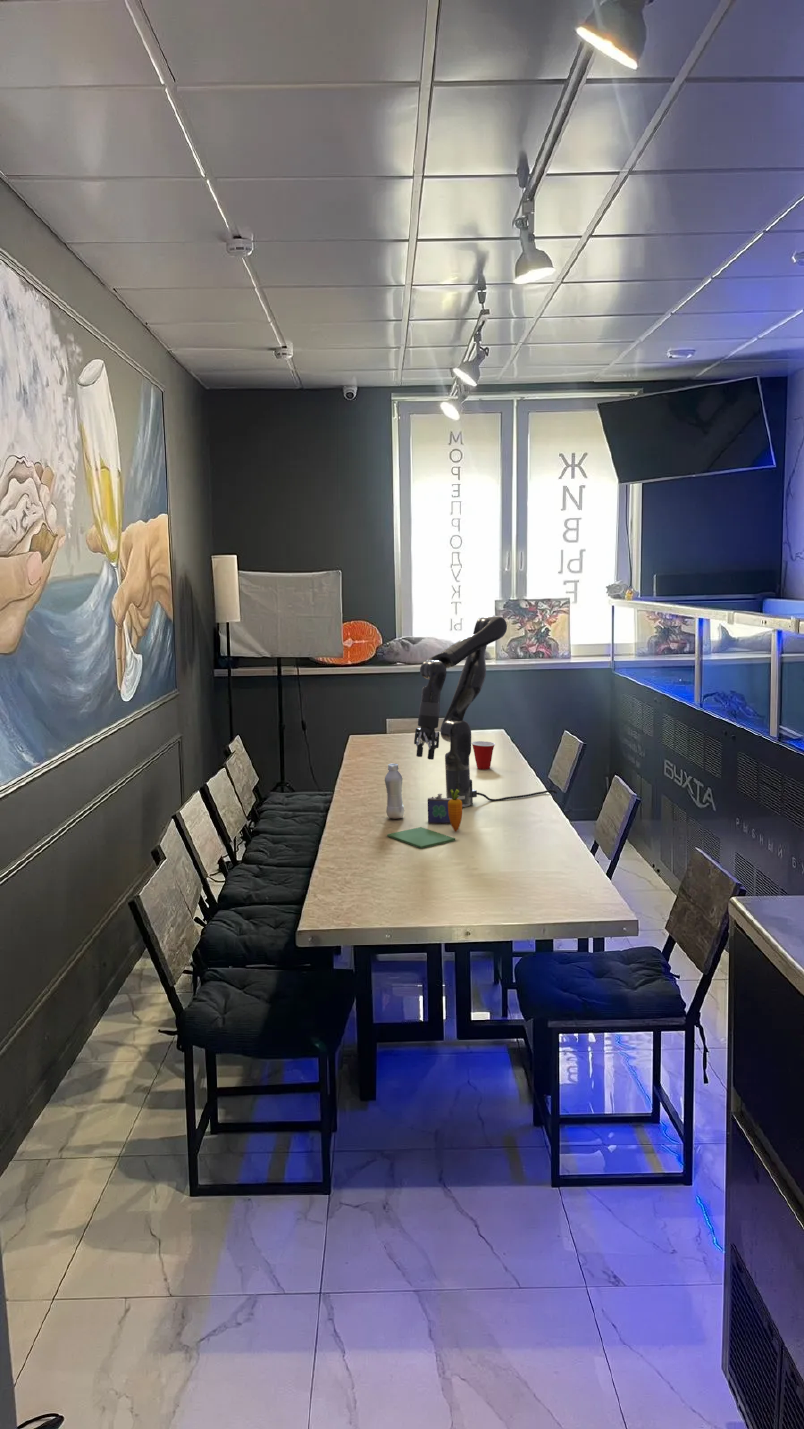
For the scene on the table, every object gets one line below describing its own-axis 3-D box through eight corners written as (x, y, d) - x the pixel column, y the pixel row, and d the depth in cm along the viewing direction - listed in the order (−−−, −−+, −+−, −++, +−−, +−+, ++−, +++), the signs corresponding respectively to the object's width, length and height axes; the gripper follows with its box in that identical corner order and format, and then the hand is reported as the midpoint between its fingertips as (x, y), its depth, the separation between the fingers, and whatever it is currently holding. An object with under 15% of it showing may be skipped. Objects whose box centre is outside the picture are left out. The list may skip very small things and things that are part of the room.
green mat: (420, 829, 335) (420, 826, 335) (455, 840, 318) (455, 838, 318) (387, 836, 327) (387, 834, 327) (420, 848, 311) (420, 846, 311)
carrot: (447, 830, 332) (446, 787, 330) (462, 829, 332) (460, 786, 330) (449, 833, 327) (448, 790, 325) (464, 833, 327) (462, 790, 325)
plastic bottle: (402, 820, 348) (400, 766, 345) (384, 820, 349) (382, 766, 346) (406, 816, 354) (404, 762, 351) (388, 815, 356) (386, 762, 353)
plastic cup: (497, 770, 430) (496, 743, 428) (472, 771, 430) (472, 744, 428) (495, 765, 440) (494, 739, 439) (471, 766, 441) (470, 740, 439)
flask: (454, 822, 342) (453, 793, 341) (452, 824, 339) (451, 794, 338) (429, 821, 345) (427, 792, 343) (427, 823, 342) (425, 794, 340)
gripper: (447, 716, 349) (443, 760, 350) (428, 713, 362) (424, 756, 363) (429, 715, 346) (425, 760, 346) (410, 712, 358) (406, 755, 359)
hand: (424, 758), depth 354 cm, fingers open, 8 cm apart
